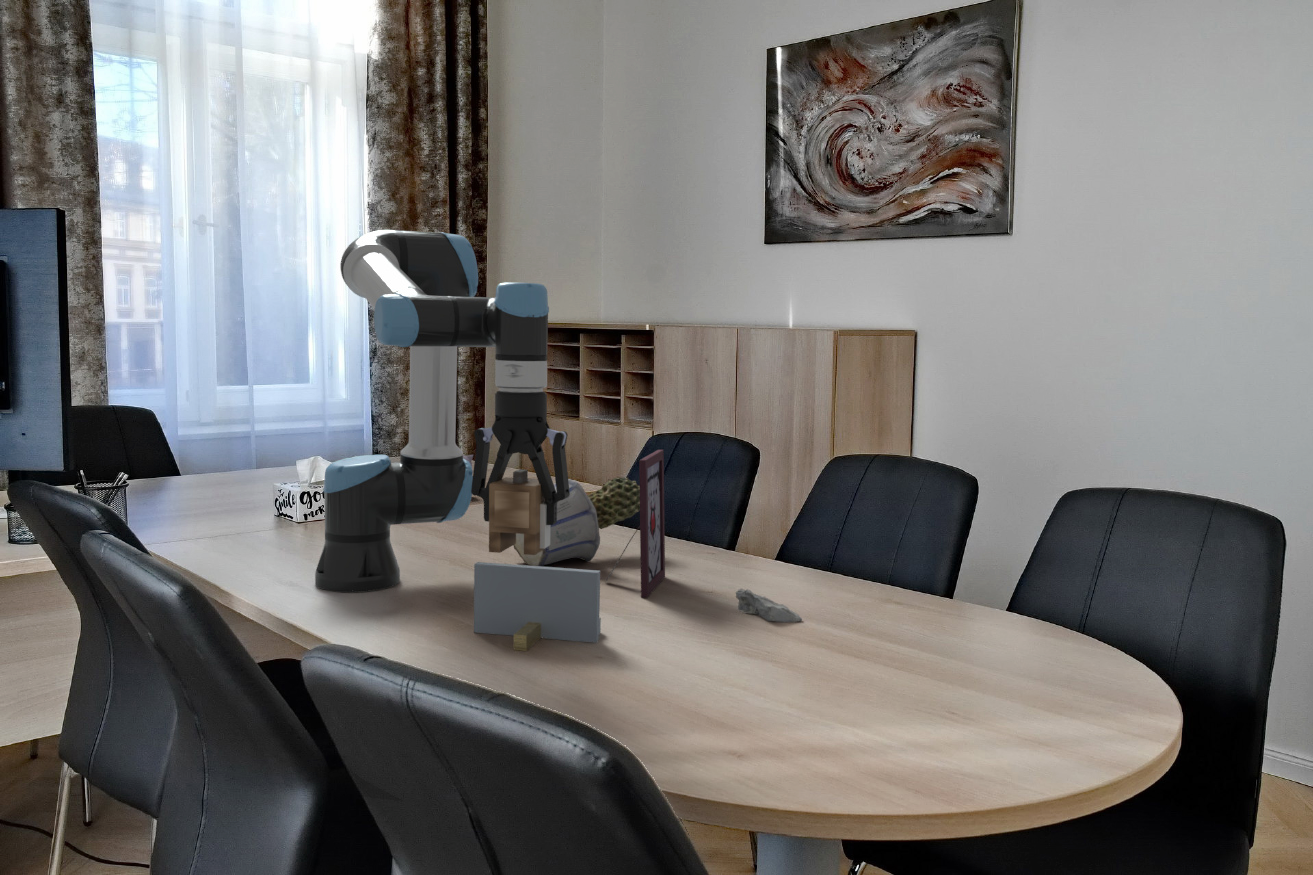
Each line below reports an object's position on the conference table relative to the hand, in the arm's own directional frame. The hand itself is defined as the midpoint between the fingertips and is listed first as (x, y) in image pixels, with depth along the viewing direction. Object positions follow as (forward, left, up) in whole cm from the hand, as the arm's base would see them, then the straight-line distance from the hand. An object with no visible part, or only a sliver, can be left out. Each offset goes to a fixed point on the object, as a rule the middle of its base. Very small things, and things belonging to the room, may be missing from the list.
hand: (519, 544), depth 158 cm
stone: (+34, +31, -17) cm, 49 cm away
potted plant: (-8, +63, -16) cm, 66 cm away
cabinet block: (0, 0, -1) cm, 1 cm away
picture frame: (+7, +44, -16) cm, 48 cm away
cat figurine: (-61, +126, -16) cm, 141 cm away
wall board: (0, +10, -16) cm, 19 cm away
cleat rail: (0, +4, -16) cm, 17 cm away
